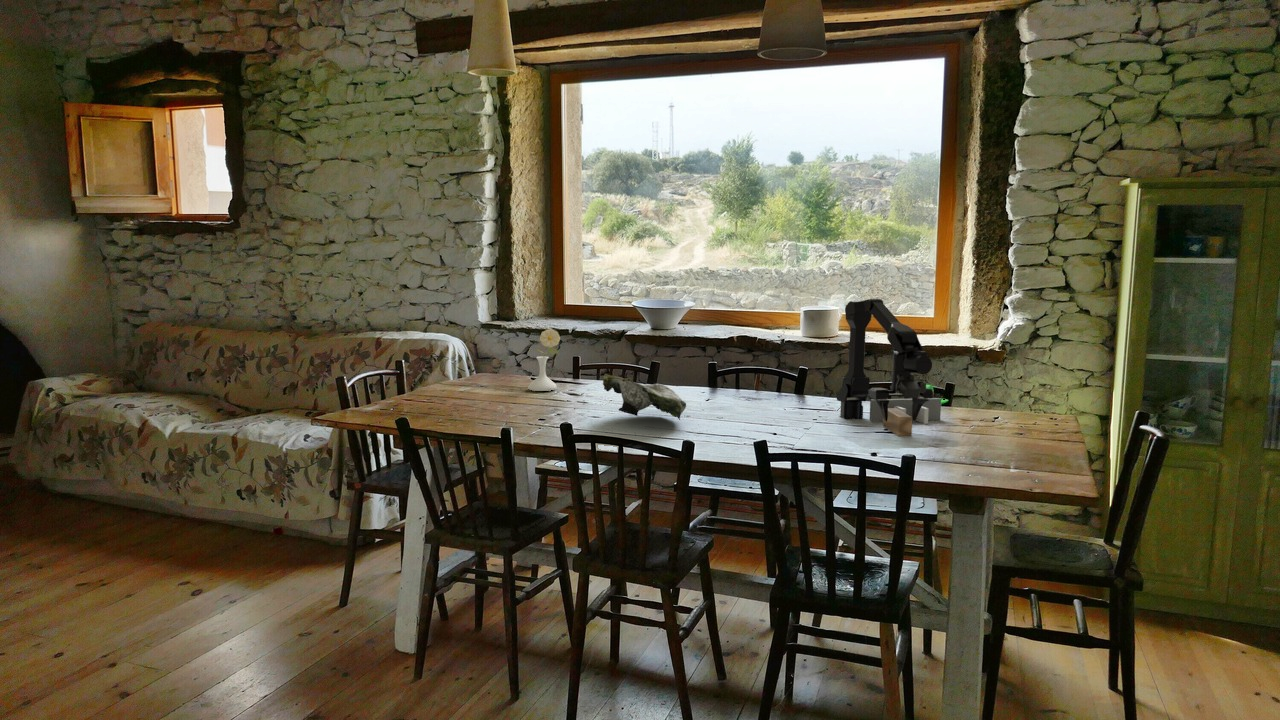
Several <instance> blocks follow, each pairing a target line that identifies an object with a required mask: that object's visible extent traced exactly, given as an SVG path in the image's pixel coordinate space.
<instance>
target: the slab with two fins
mask: <svg viewBox="0 0 1280 720" xmlns="http://www.w3.org/2000/svg"><path fill="white" fill-rule="evenodd" d="M927 399H929V401H926V402H925V403H924V404H923V405H922V407H921V409H920V411H919V413H918V416H917V418H916V420H915V422H919V423H920V424H921V423H922V424H923V425H926V424H927V425H928V424H929V421H940V420H941V414H942V413H941V412H942V404H941V399H942V398H940V399H939V397H934V398H927ZM887 400H889V403H888V408H897V409H899V410H900V411H902V412H904V413H906V414H907V415H909V416H911V417H912V398H887ZM869 402H870V403H869V421H870V422H883V415H882V412H881V410H880V407H879V405H878V403H877V401H876V400H873V398H872V399H869ZM912 422H913V418H912Z"/></svg>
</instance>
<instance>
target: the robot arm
mask: <svg viewBox="0 0 1280 720" xmlns="http://www.w3.org/2000/svg"><path fill="white" fill-rule="evenodd" d="M844 312H845V320H846V322H847V324H848V326H849V349H848V350H849V351H848V352H849V353H848V371H847V373H846V374H845V375H844V377H843V379H842V386H841V387H840V388H839V389H838V391H837V392H836V393H835V394H836V395H835V396H836V401H838V402H840V413H839V415H838V417H839V418H841V419H843V420H864V405H863V402H866V401H867V400H868V397H869V398H872V399H873V400H876V401H877V403H878V405H879V407H880V410H881V412H882V415H883V418H884V420H885V421H887V420H888V403H889V400H887V399H889V398H890V397H903V398H904V399H912V418H913V421H914V422H916V418H917V416H918V413H919V411H920V409H921V407H922V405H923V404H924V403H925V402H926V401H929V399H927V398H935V397H934V392H933V390H932V389H930V388H927V387H926V385H927V382H925V381H924V380H922V381H921V380H919V381H915V375H914V374H918V375H923V376H924V375H927V374H929V373H930V371H931V370H932V367H933V362H932V359H931V358H930V357H929V356H928V352H927V351H924V349H923V347H922V344H921V342H920V340H919V338H918V335H917V332H916V331H915V330H914V329H912V327H910V326H909V325H907V324H903V323H902V322H901V321H899V319H898V318H897V317H896V316H895V315H894V314H893V313H892V312H891V311H890V310H889V309H888V307H887V306H886V305H885V303H884V301H883V300H882V299H880V298H868V299H864V300H851V301H849V302H848V303H847V304H846V305H845V307H844ZM872 317H873V318H874V319H875V320H876V321H877V323H878V324H879V325H880V326H881V328H882V329H884V331H885V333H886V335H887V338H886V339H887V341H888V342H889V344H890V346H891V347H892V349H891V350H890V351H889V352H888V354H889V355H892V372H890V377H891V378H892V379H891V385H890V386H889V389H886V388H884V387H871V388H870V382H871V379H870V376H867V374H866V373H865V351H866V348H865V347H866V334H867V332H866V329H867V327H868V326H869V324H870V323H871V321H872ZM913 421H912V422H913Z"/></svg>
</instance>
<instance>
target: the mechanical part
mask: <svg viewBox="0 0 1280 720" xmlns="http://www.w3.org/2000/svg"><path fill="white" fill-rule="evenodd" d="M926 387H927V388H930V389H932V390H933V392H934V391H935V390H934V386H933V385H932V384H926ZM938 398H939V397H938ZM939 399H941V405H943V404H945V403H948V402H949V399H946V398H939ZM943 399H945V400H943Z"/></svg>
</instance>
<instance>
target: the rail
mask: <svg viewBox="0 0 1280 720" xmlns="http://www.w3.org/2000/svg"><path fill="white" fill-rule="evenodd" d="M882 422H883V423H882V427H883V428H885V429H887V430H888V431H890V433H893V434H894V435H895V436H897V437H912V432H913V430H912V428H913V421H912V417H911V416H909V415H907V414H906V413H904V412H902V411H900V410H899V409H897V408H888V420H887V421H885V420H884V418H883V421H882Z"/></svg>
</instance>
